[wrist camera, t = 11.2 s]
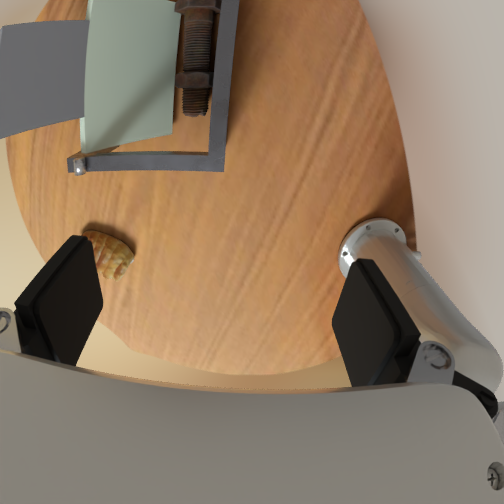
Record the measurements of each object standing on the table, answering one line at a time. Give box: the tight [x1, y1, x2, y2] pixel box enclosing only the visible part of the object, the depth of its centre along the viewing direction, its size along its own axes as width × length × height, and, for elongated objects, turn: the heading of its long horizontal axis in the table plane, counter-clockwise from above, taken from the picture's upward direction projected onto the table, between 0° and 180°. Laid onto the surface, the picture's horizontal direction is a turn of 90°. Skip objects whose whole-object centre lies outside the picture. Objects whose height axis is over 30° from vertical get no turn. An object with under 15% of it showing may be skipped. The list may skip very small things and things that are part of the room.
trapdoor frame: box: [67, 0, 239, 175], centre depth 25 cm, size 16×21×13 cm
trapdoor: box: [0, 0, 181, 154], centre depth 22 cm, size 21×17×6 cm
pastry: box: [82, 230, 134, 281], centre depth 42 cm, size 9×7×4 cm
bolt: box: [174, 0, 222, 117], centre depth 28 cm, size 6×5×15 cm
